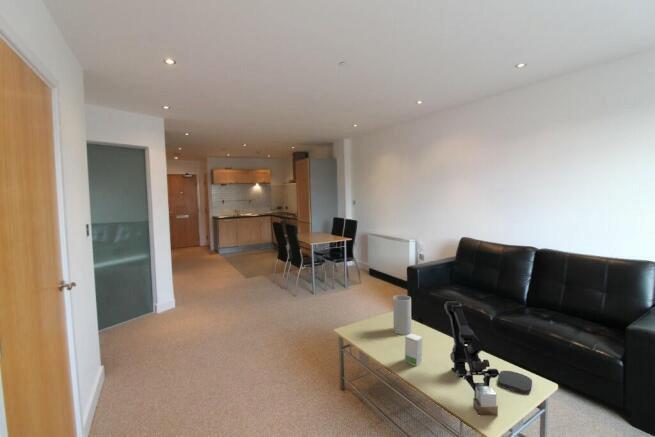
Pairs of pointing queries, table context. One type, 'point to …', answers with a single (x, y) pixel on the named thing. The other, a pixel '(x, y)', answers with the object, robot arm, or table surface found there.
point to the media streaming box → (515, 381)
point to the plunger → (479, 385)
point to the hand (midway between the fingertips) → (482, 393)
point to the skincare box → (413, 349)
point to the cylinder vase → (402, 314)
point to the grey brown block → (485, 401)
